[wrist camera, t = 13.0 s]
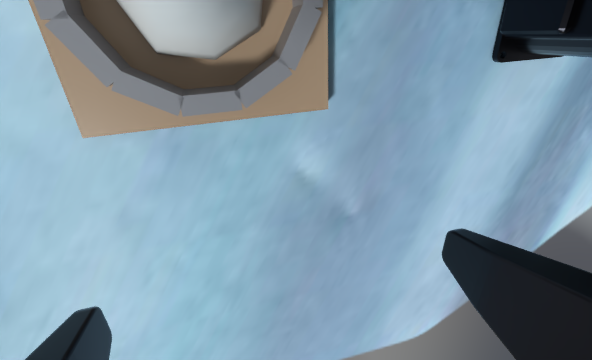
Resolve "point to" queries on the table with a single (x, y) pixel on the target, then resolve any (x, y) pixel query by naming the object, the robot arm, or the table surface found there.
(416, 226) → the table surface
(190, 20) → the flask
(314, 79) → the duct collar
